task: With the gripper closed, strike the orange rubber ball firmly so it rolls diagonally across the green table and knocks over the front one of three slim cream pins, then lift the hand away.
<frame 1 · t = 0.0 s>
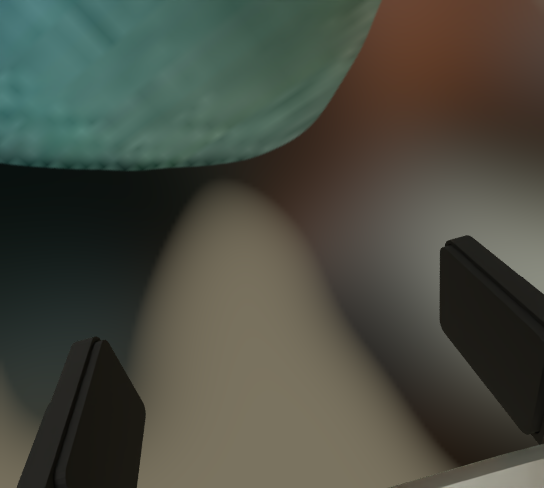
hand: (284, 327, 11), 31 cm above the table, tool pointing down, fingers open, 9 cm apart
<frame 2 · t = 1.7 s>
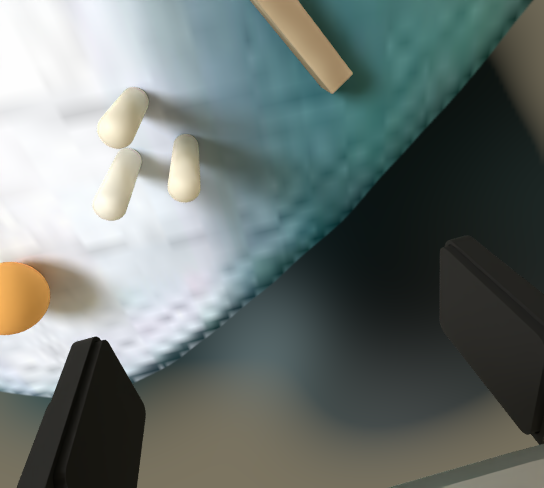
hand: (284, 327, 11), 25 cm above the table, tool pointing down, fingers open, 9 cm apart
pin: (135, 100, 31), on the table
back wall: (271, 3, 29), on the table
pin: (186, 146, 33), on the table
ball: (9, 298, 34), on the table
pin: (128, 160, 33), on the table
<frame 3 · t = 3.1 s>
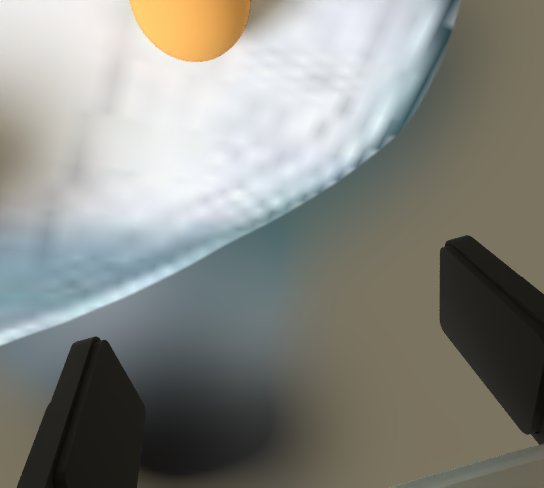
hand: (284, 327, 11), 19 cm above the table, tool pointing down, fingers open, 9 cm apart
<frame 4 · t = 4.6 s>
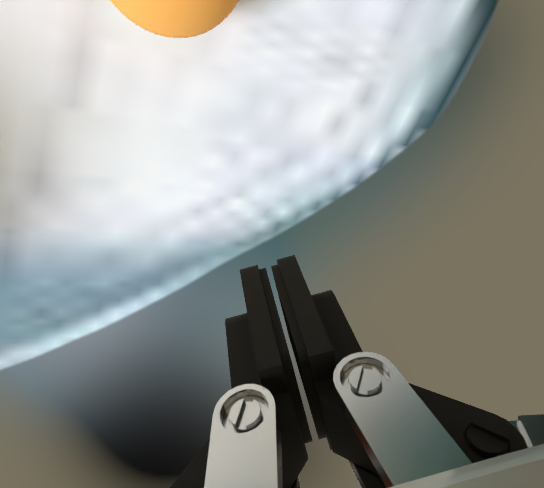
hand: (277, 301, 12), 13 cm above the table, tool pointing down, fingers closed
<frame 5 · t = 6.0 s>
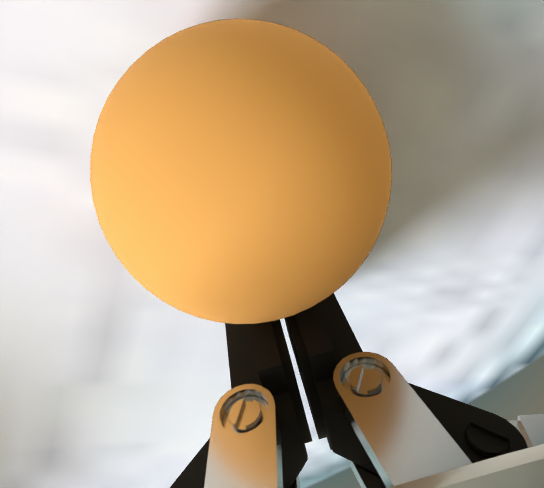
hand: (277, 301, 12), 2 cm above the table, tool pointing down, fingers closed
ball: (244, 180, 9), on the table, touching gripper
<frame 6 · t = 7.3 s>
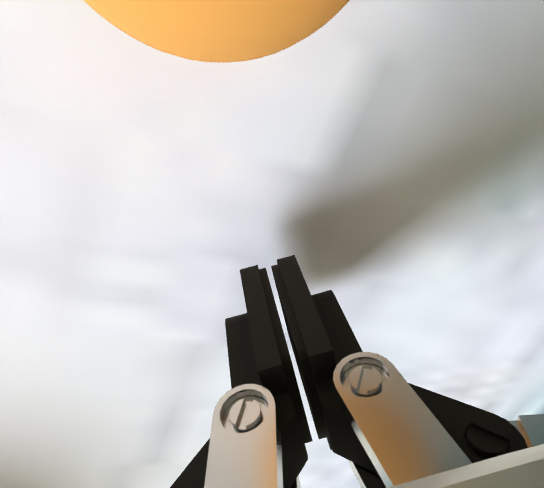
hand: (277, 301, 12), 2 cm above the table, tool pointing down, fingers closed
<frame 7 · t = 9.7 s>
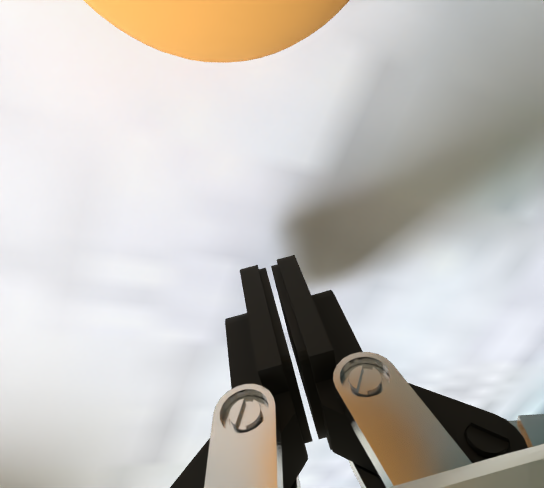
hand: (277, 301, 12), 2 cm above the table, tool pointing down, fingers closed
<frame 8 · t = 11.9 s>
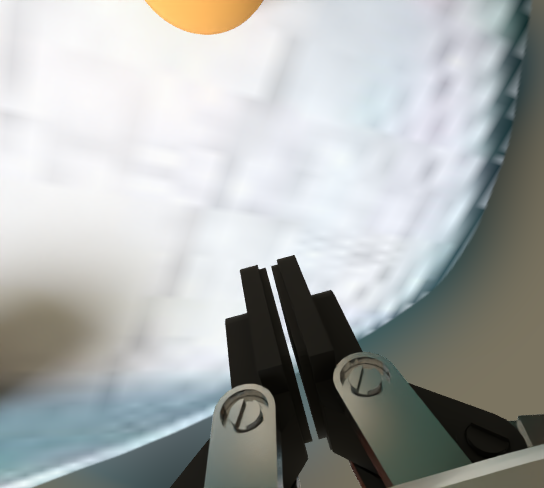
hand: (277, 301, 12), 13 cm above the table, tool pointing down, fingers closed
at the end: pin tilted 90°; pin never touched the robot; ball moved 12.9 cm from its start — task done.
